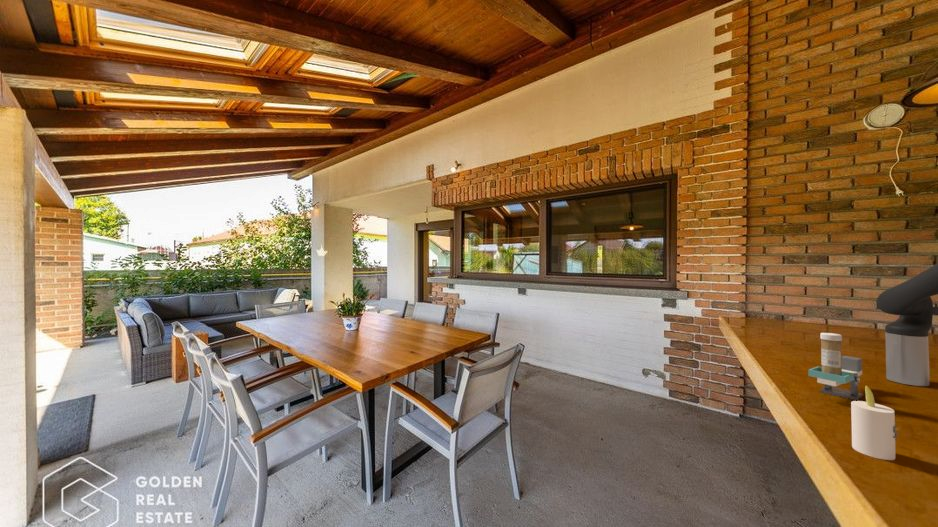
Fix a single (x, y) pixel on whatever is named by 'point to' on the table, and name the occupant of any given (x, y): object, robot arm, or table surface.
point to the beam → (848, 370)
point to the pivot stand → (844, 393)
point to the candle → (873, 428)
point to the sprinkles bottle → (831, 353)
